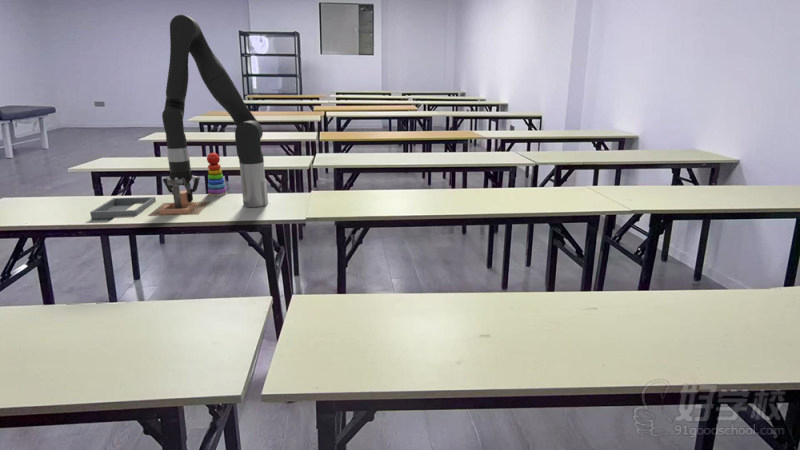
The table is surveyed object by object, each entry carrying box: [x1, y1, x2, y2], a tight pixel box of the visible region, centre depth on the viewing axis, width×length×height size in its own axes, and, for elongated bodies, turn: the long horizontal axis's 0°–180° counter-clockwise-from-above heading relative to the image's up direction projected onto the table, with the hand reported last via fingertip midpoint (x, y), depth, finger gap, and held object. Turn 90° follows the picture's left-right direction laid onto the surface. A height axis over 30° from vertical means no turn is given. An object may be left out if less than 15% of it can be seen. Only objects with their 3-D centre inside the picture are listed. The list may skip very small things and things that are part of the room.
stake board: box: [147, 179, 211, 217], centre depth 197 cm, size 18×18×13 cm
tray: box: [89, 196, 157, 221], centre depth 198 cm, size 16×20×3 cm
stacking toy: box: [206, 152, 228, 197], centre depth 218 cm, size 8×8×19 cm
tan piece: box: [160, 190, 197, 214], centre depth 198 cm, size 10×15×5 cm, turn 6°
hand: (184, 202), depth 204 cm, fingers open, 3 cm apart
